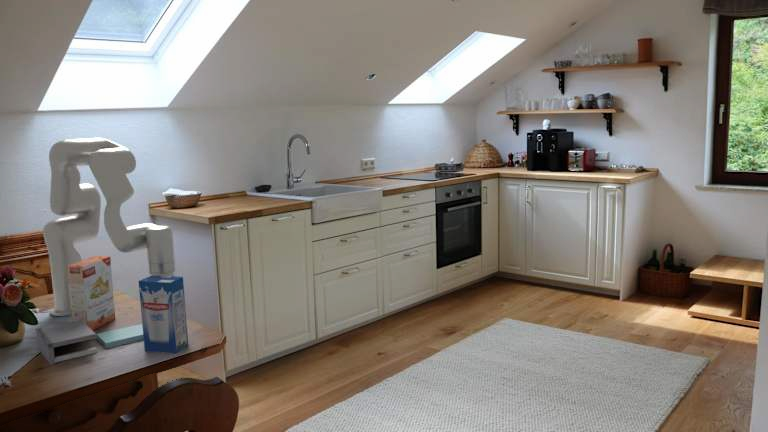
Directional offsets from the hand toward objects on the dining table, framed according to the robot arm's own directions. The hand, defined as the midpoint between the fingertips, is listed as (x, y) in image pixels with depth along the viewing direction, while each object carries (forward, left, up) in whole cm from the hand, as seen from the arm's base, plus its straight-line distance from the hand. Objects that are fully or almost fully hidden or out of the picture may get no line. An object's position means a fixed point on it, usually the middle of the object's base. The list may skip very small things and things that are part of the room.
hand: (166, 325), depth 200 cm
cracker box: (-18, -16, -1) cm, 24 cm away
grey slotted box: (0, -28, -1) cm, 28 cm away
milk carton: (+17, -6, -1) cm, 18 cm away
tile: (0, -11, -1) cm, 11 cm away
